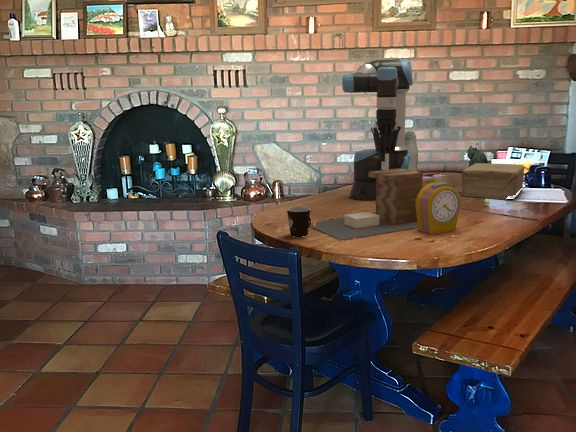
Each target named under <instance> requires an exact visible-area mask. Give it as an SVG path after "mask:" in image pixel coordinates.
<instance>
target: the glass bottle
mask: <svg viewBox="0 0 576 432" xmlns="http://www.w3.org/2000/svg"><path fill="white" fill-rule="evenodd" d="M405 146H406V147H407V148H408V152H410V153H411V155H410V162H409V168H408V170H412V171H417V172H418V162H419V149H418V144H417V135H416V133H415V131H412V130H407V131H406V130H405Z"/></svg>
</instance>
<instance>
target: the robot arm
mask: <svg viewBox="0 0 576 432" xmlns="http://www.w3.org/2000/svg"><path fill="white" fill-rule="evenodd" d="M341 84H342V91H343V93H346V94H348V93H350V94H355V93H356V94H358V93H361V94H362V93H376V104H375V106H376V113H375V114H376V115H375V119H376V123H375V125H374V126H373V127H370V131H371V133H372V137H373V143H374V147H375V148H370V149H369V148H368V149H362V150H358V151H355V153H353V183H352V186H351V189H350V192H349V198H350V199H353V200H358V201H374V200H375V201H376V178H372V177H368V172H369V171H379V170H389V169H398V168H401V169H407V170H408V168H409V162H410V155H411V153H410V152H408V148H407V147H406V146H405V132H406V112H407V110H406V101H407V100H406V99H407V93H408V92H409V90H410V86H413V84H414V79H413V69H412V62H411V61H410V60H409V59H400V58H399V59H398V58H397V59H396V58H395V59H375V60H371V61H368V62H366V63H365V62H364V63H363V64H361V65H360V66H359V67H358V68H357V70H356V71H355V73H345V74H343V76H342V83H341Z"/></svg>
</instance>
